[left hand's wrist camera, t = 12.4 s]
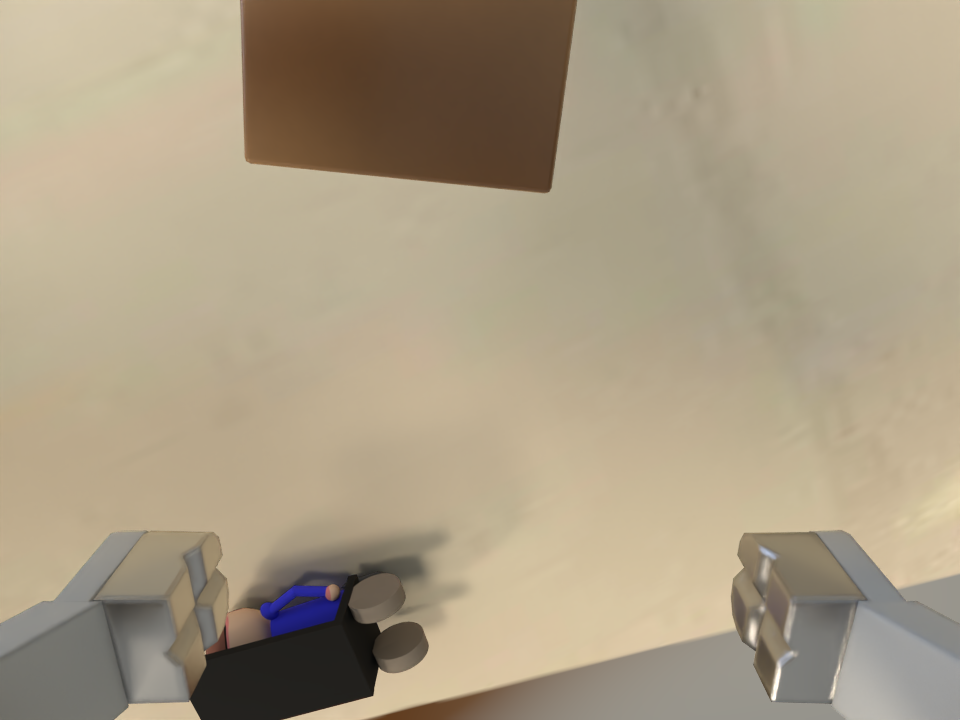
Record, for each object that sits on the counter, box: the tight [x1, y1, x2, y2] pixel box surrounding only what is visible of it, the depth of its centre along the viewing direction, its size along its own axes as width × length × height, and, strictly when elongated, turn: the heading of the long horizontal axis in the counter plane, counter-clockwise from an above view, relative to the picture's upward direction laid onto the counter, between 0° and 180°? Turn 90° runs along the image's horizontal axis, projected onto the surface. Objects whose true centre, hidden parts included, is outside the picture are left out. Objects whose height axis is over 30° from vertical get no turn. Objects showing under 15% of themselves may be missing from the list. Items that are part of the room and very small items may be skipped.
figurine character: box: [190, 571, 429, 720], centre depth 46 cm, size 7×8×15 cm
